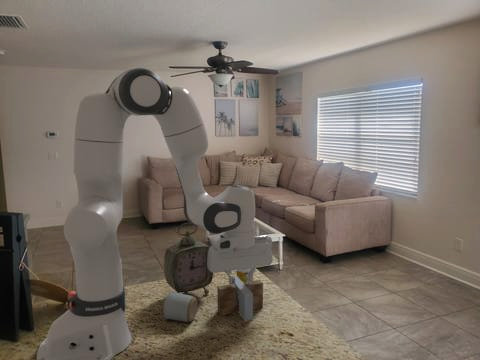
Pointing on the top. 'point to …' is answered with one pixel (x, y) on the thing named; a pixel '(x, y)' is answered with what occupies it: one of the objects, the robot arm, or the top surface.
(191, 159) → the robot arm
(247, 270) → the supplement bottle
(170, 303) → the ceramic mug
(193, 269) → the tabletop clock
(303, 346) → the top surface
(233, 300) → the walnut board
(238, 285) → the slate board
